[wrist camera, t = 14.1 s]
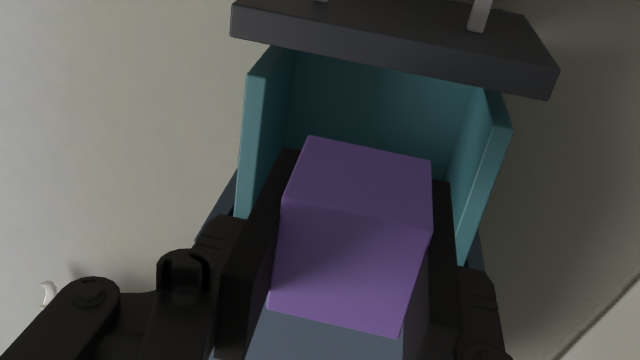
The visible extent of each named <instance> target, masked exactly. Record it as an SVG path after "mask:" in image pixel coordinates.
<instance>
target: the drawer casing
mask: <svg viewBox="0 0 640 360" xmlns="http://www.w3.org/2000/svg"><path fill="white" fill-rule="evenodd" d="M237 170H238V168H237ZM237 170H236V171H235V173H234V175H233V176H232V178H231V180H230V181H229V183H228V185H227V186H226V188H225V190H224V191H223V193H222V195H221V196H220V198H219V200H218V201H217V203H216V205H215V206H214V208H213V210H212V211H211V213H210V215H209V216H208V218H207V220H206V221H205V223H204V225H203V226H202V228H201V230H200V231H199V233H198V235H197V236H196V238H195V240H194V245H195V242H196V240H197V238H198V237H199V235H200V233H201V232H202V230H203V228H204V227H205V225H206V223H207V222H208V221H210V220H211V219H213V218H214V217H216V216H217V215H219V214H224V215H229V216H233V213H234V202H235V192H236V181H237ZM464 267H467V268H472V269H476V270H481V271H485V268H484V262H483V255H482V249H481V243H480V236H479V230H478V229H477V232H476V234H475V237H474V240H473V242H472V245H471V248H470V251H469V253H468V256H467V259H466V261H465V264H464ZM266 302H267V298H266V301H265V303H264V306H263V309H262V312H261V315H260V318H259V320H258V323H257V326H256V329H255V332H254V335H253V337H252V340H251V343H250V346H249V349H248V352H247V354H246V357H245V360H402V356H403V329H404V325H403V328H402V331H401V334H400V337H399V338H398V339H392V338H388V337H383V336H379V335H375V334H370V333H366V332H362V331H358V330H353V329H349V328H345V327H340V326H336V325H332V324H327V323H323V322H319V321H314V320H310V319H306V318H302V317H297V316H293V315H289V314H284V313H280V312H276V311H271V310H268V309H267V308H266ZM213 355H214V347H213V350H212V352H211V354H210V357H209V359H208V360H220V359H216V358H213Z"/></svg>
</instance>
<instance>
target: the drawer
mask: <svg viewBox="0 0 640 360" xmlns="http://www.w3.org/2000/svg"><path fill="white" fill-rule="evenodd" d="M492 2H493V0H474V3H473V5H471V4H465V3H460V2H455V1H450V0H236V1H235V2H234V3H232V7H231V20H230V36H231V37H234V38H239V39H244V40H249V41H254V42H259V43H264V44H269V45H270V47H269V48H268V49H267V50H266V52H265V53H264V54H263V55H262V56H261V58H260V59H259V60H258V61H257V62H256V64H255V65H254V66H253V67H252V69H251V70H250V71H249V72H248V73H247V75H246V85H245V96H244V106H243V117H242V128H241V138H240V149H239V160H238V170H237V181H236V192H235V202H234V213H233V217H238V218H242V219H247V218H248V216H249V214H250V212H251V210H252V208H253V206H254V204H255V202H256V200H257V198H258V196H259V194H260V192H261V190H262V188H263V186H264V183H265V181H266V179H267V177H268V175H269V173H270V171H271V169H272V167H273V165H274V163H275V161H276V159H277V157H278V155H279V153H280V151H281V148H282V147H287V148H292V149H296V150H301V151H302V148H303V146H304V144H305V141H306V139H307V137H308V135H313V136H318V137H322V138H327V139H332V140H336V141H341V142H346V143H350V144H355V145H360V146H364V147H369V148H374V149H378V150H383V151H388V152H393V153H397V154H402V155H407V156H411V157H416V158H421V159H425V160H429V161H430V162H431V179H436V180H441V181H445V182H450V188H451V199H452V210H453V220H454V231H455V242H456V253H457V264H458V266H463V267H464V264H465V261H466V259H467V256H468V253H469V251H470V248H471V245H472V242H473V240H474V237H475V234H476V232H477V229H478V226H479V224H480V221H481V218H482V216H483V213H484V210H485V208H486V205H487V202H488V199H489V197H490V194H491V191H492V189H493V186H494V183H495V181H496V178H497V175H498V173H499V170H500V167H501V164H502V162H503V159H504V156H505V154H506V151H507V148H508V146H509V143H510V140H511V138H512V135H513V132H514V128H513V126H512V123H511V120H510V117H509V114H508V111H507V108H506V105H505V102H504V100H503V97H502V94H501V92H503V93H508V94H513V95H518V96H523V97H528V98H532V99H537V100H542V101H548V100H549V99H550V96H551V94H552V91H553V89H554V86H555V84H556V81H557V79H558V76H559V74H560V68H559V67H558V65H557V64H556V62H555V61H554V59H553V58H552V56H551V55H550V53H549V52H548V50H547V49H546V47H545V46H544V44H543V43H542V41H541V40H540V38H539V37H538V35H537V34H536V32H535V31H534V29H533V28H532V26H531V25H530V23H529V22H528V20H527V19H526V18H525V16H524V15H521V14H516V13H511V12H506V11H501V10H496V9H491V6H492Z"/></svg>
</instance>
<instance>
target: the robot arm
mask: <svg viewBox="0 0 640 360" xmlns="http://www.w3.org/2000/svg"><path fill="white" fill-rule="evenodd" d="M300 153H301V150H296V149H292V148H287V147H282V148H281V151H280V153H279V155H278V157H277V159H276V161H275V163H274V165H273V167H272V169H271V171H270V173H269V175H268V177H267V179H266V181H265V183H264V186H263V188H262V190H261V192H260V194H259V196H258V198H257V200H256V202H255V204H254V206H253V208H252V210H251V212H250V214H249V216H248V218H247V219H242V218H238V217H233V216H229V215H224V214H219V215H217V216H216V217H214V218H213V219H211V220H210V221H208V222H207V223H206V225H205V227H204V228H203V230H202V232H201V233H200V235H199V237H198V238H197V240H196V242H195V245H193V247H192V248H191V249H177V250H174V251H170V252H168V253H167V254H165V255H164V256H162V257H161V258H160V259H159V261H158V263H157V269H156V290H154V291H151V292H144V293H120V290H119V287H118V286H117V285H116V284H115V282H114V281H111V280H109V279H107V278H104V277H96V276H91V277H84V278H80V279H77V280H75V281H72V282H70V283H69V284H68V285H66V286H65V287H64V288H62V289H61V291H60V292H59V293H58V294H57V295H56V296H55V297H54V298H53V299H52V300H51V301H50V303H49V304H48V305H47V306H46V307H45V308H44V309H43V310H42V311H41V312H40V314H39V315H38V316H37V317H36V318H35V319H34V320H33V321H32V322H31V323H30V325H29V326H28V327H27V328H26V329H25V330H24V331H23V332H22V333H21V334H20V336H19V337H18V338H17V339H16V340H15V341H14V342H13V343H12V344H11V345H10V347H9V348H8V349H7V350H6V351H5V352H4V353H3V354H2V355H1V356H0V360H208V359H209V357H210V354H211V352H212V350H213V347H214V355H213V358H216V359H220V360H245V357H246V354H247V352H248V349H249V346H250V343H251V340H252V337H253V335H254V332H255V329H256V326H257V323H258V320H259V318H260V315H261V312H262V309H263V306H264V303H265V301H266V298H267V295H268V292H269V287H270V280H271V273H272V267H273V260H274V253H275V246H276V240H277V233H278V226H279V219H280V207H281V200H282V196H283V194H284V191H285V189H286V187H287V184H288V182H289V179H290V177H291V175H292V172H293V170H294V167H295V165H296V163H297V160H298V158H299V156H300ZM431 180H432V205H433V234H432V237H431V240H430V244H429V246H428V248H427V251H426V254H425V257H424V260H423V264H422V267H421V270H420V273H419V276H418V279H417V282H416V285H415V289H414V292H413V295H412V298H411V301H410V304H409V307H408V310H407V314H406V317H405V320H404V329H403V356H402V360H513V359H512V357H511V356H510V355H508V354H507V353H506V352H505V346H504V340H503V334H502V329H501V323H500V317H499V312H498V306H497V301H496V294H495V288H494V284H493V283H492V282H491V280H490V279H489V277H488V276H487V274H486V273H485V271H481V270H476V269H472V268H467V267H463V266H458V264H457V253H456V242H455V231H454V220H453V210H452V199H451V188H450V182H445V181H441V180H436V179H431Z"/></svg>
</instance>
